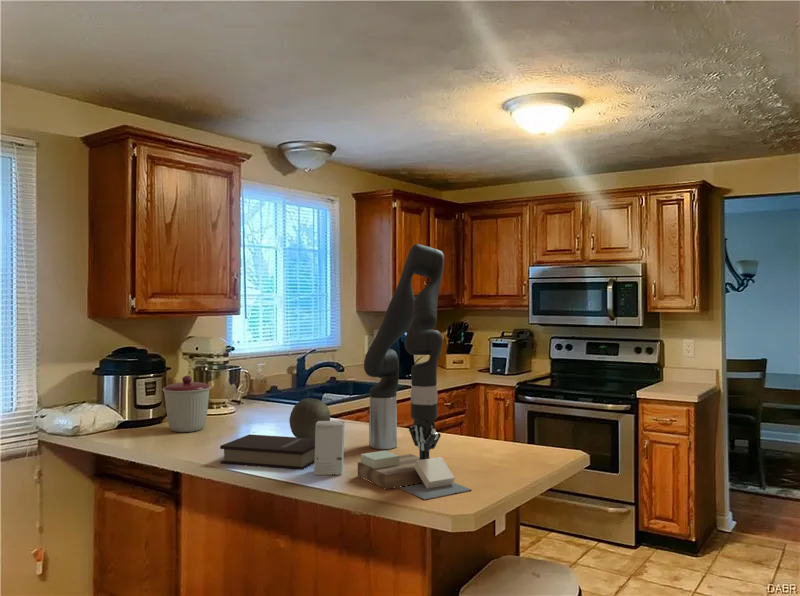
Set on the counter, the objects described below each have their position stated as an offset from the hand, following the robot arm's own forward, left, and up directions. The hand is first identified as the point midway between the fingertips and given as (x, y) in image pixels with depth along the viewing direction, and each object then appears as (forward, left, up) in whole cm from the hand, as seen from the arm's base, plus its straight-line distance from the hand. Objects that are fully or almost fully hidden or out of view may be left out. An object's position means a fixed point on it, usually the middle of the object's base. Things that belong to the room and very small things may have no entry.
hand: (424, 463), depth 185 cm
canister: (-109, -38, -5) cm, 116 cm away
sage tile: (-9, -9, -1) cm, 13 cm away
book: (-46, -26, -6) cm, 53 cm away
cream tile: (+5, 0, -2) cm, 5 cm away
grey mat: (+9, -3, -5) cm, 10 cm away
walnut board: (-6, -5, -5) cm, 9 cm away
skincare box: (-22, -19, -5) cm, 29 cm away
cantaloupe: (-65, -6, -5) cm, 66 cm away
